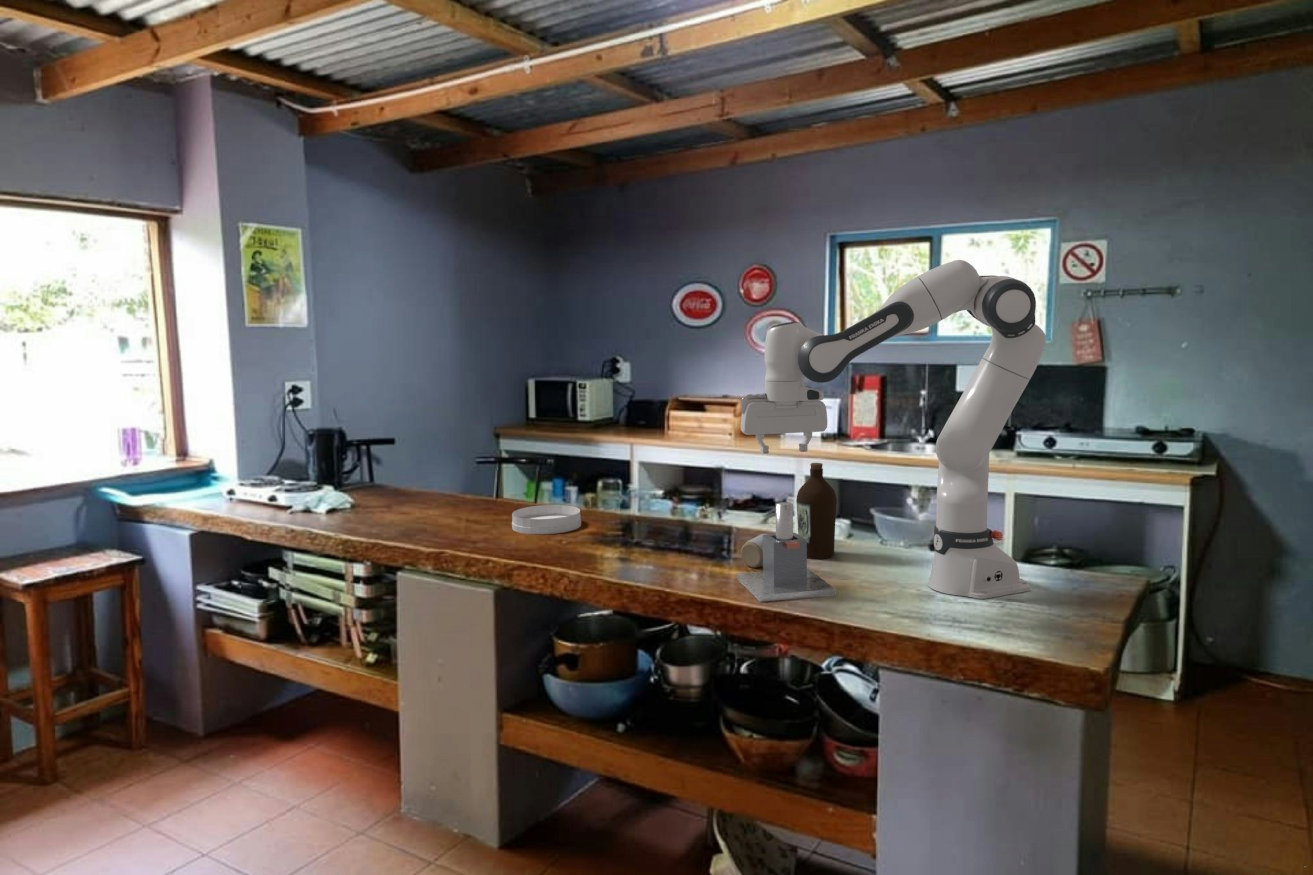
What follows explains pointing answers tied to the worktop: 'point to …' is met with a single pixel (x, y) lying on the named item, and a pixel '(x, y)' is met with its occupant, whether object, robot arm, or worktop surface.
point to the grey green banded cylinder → (784, 521)
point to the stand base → (785, 572)
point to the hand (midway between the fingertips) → (784, 452)
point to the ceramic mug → (753, 552)
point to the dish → (546, 519)
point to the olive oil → (817, 514)
